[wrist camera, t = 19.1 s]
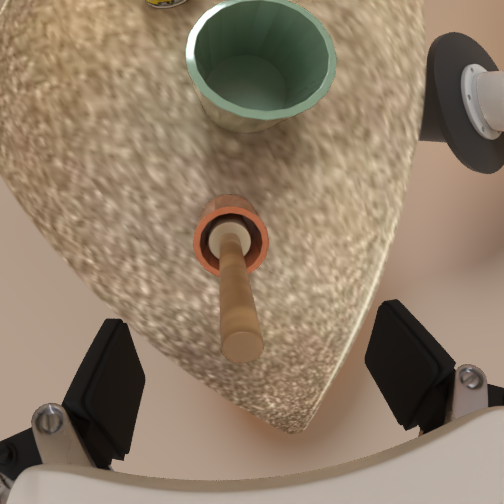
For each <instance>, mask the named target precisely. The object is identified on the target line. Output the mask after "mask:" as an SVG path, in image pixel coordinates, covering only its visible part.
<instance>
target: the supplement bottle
mask: <svg viewBox="0 0 504 504" xmlns="http://www.w3.org/2000/svg"><path fill="white" fill-rule="evenodd" d="M145 1H146V2H147V3H148V4H149V5H151V6H153V7H157V8H169V7H174V6H177V5H179V4H181V3H183V2H185V1H187V0H145Z"/></svg>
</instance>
